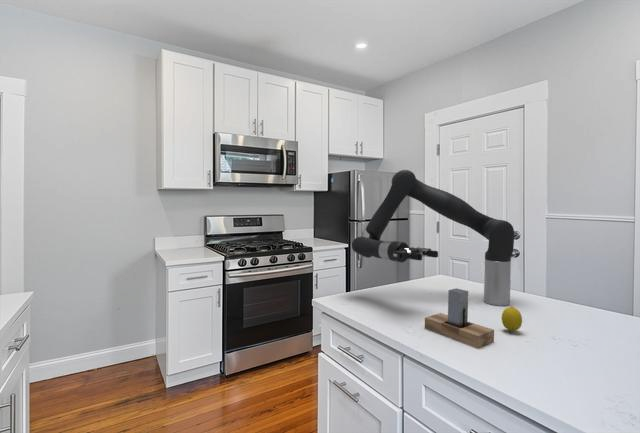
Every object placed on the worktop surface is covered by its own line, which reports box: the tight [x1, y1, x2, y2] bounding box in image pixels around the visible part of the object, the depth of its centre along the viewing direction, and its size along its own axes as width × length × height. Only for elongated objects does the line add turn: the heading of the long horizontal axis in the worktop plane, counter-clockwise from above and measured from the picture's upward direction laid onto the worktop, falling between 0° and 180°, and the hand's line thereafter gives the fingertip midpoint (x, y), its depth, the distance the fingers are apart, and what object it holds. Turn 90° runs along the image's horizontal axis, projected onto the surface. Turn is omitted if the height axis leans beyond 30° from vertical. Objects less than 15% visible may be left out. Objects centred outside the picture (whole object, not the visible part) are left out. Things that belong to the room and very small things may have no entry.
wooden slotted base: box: [424, 312, 495, 349], centre depth 103 cm, size 8×18×4 cm, turn 35°
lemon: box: [501, 306, 523, 333], centre depth 106 cm, size 6×6×8 cm
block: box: [447, 288, 469, 328], centre depth 103 cm, size 4×4×12 cm
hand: (429, 255), depth 115 cm, fingers open, 8 cm apart
